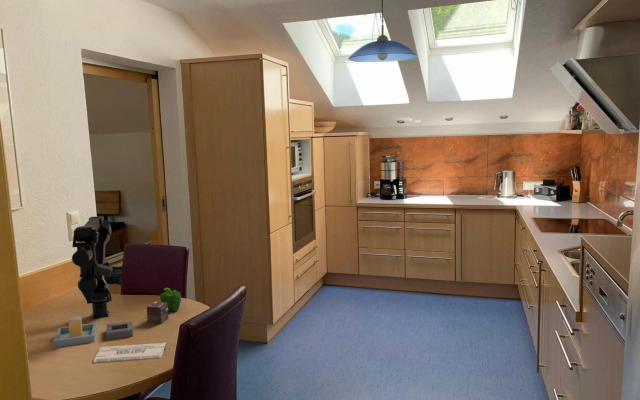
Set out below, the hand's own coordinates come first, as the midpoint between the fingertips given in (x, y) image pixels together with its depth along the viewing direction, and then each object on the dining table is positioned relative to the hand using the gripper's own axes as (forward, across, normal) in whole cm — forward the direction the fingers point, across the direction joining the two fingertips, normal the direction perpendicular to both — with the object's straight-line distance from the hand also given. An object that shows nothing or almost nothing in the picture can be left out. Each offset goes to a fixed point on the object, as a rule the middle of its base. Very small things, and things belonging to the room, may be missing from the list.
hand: (90, 299), depth 191 cm
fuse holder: (+12, -10, -10) cm, 19 cm away
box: (+12, -2, -24) cm, 27 cm away
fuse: (+11, -8, +5) cm, 15 cm away
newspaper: (+13, -28, -14) cm, 34 cm away
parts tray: (+12, -8, +5) cm, 15 cm away
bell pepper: (+12, +10, -30) cm, 34 cm away
